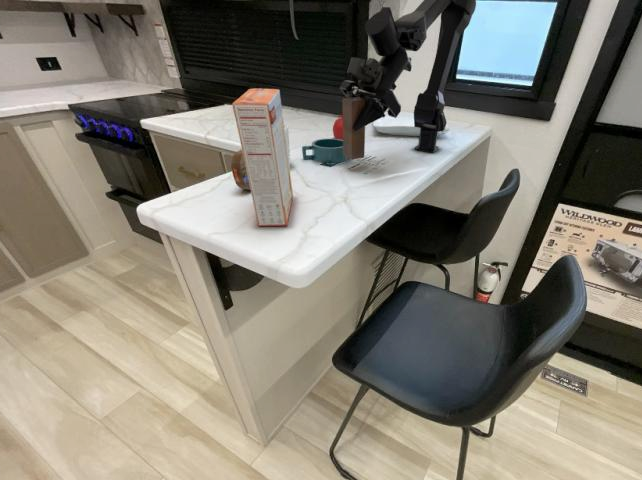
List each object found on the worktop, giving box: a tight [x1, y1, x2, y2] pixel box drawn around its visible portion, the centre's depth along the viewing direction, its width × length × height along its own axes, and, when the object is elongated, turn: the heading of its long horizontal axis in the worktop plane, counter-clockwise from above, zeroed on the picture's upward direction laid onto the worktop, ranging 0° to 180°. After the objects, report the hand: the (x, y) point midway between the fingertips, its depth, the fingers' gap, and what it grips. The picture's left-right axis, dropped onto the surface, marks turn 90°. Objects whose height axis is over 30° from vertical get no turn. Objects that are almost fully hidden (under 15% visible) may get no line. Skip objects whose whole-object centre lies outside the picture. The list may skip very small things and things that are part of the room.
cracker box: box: [231, 87, 294, 227], centre depth 62 cm, size 14×6×21 cm, turn 5°
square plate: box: [372, 111, 451, 137], centre depth 127 cm, size 27×27×4 cm
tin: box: [230, 148, 251, 191], centre depth 77 cm, size 15×3×8 cm, turn 168°
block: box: [341, 97, 366, 161], centre depth 82 cm, size 4×4×13 cm
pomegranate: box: [332, 114, 343, 140], centre depth 109 cm, size 10×10×9 cm
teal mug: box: [301, 138, 349, 164], centre depth 94 cm, size 13×10×4 cm
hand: (349, 127), depth 81 cm, fingers closed on block, 4 cm apart
